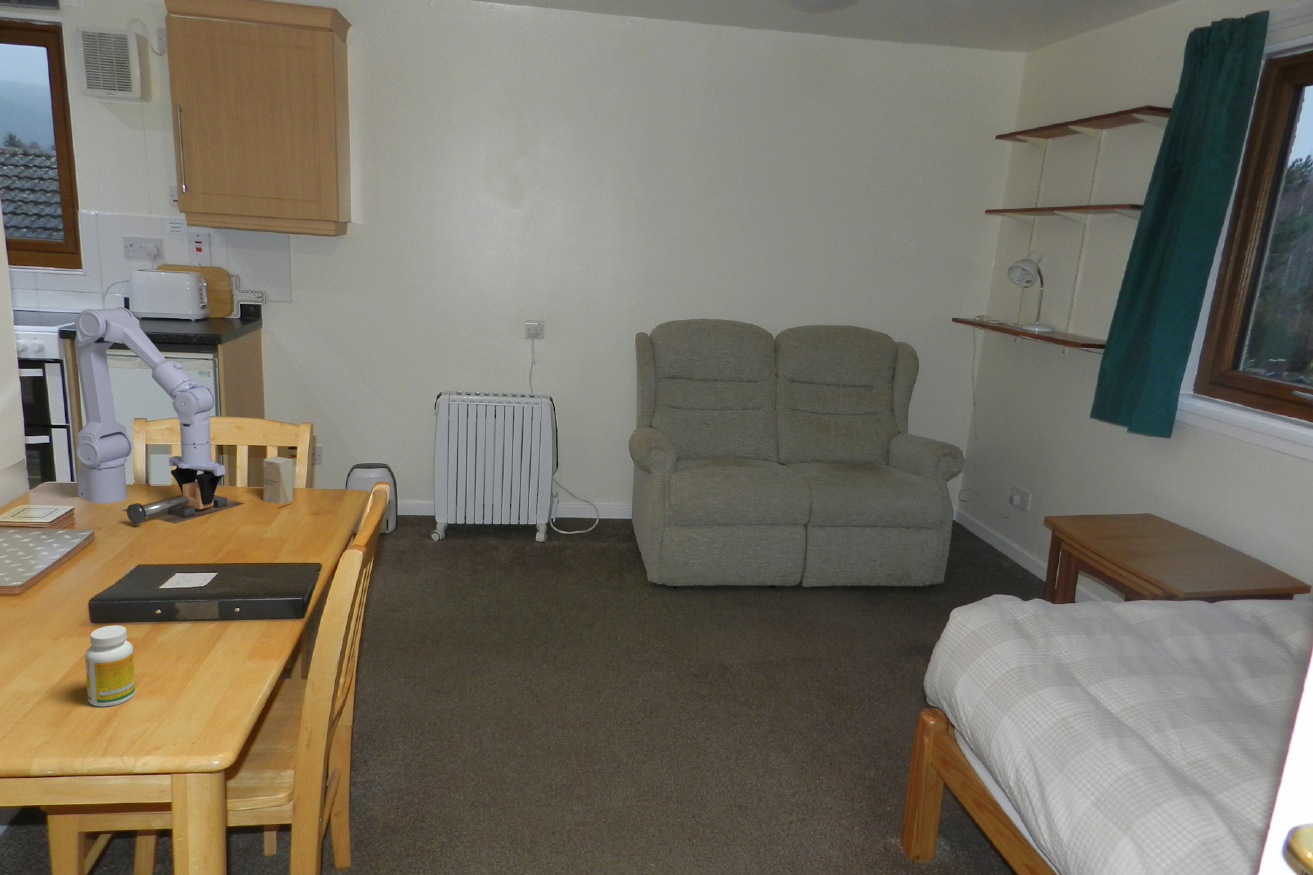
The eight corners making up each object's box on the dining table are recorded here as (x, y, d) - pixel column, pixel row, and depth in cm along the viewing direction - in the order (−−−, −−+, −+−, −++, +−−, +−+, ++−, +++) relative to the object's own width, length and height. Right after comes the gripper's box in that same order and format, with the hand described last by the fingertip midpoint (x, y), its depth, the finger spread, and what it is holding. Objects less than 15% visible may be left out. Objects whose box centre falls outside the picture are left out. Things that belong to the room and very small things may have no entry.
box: (262, 504, 196) (261, 459, 194) (275, 500, 200) (275, 455, 198) (281, 508, 195) (280, 462, 192) (294, 503, 199) (293, 458, 196)
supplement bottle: (78, 702, 111) (73, 635, 109) (114, 684, 116) (110, 619, 114) (110, 711, 109) (105, 643, 107) (145, 692, 114) (141, 627, 112)
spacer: (183, 505, 185) (182, 484, 184) (197, 501, 189) (196, 481, 188) (199, 509, 184) (199, 488, 183) (213, 505, 187) (212, 484, 186)
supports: (168, 513, 182) (167, 505, 182) (211, 502, 192) (210, 494, 192) (184, 518, 180) (184, 509, 180) (227, 505, 190) (227, 497, 190)
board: (122, 514, 182) (122, 510, 182) (194, 495, 199) (194, 491, 199) (175, 527, 177) (175, 523, 177) (245, 507, 193) (244, 503, 193)
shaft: (127, 521, 173) (126, 502, 172) (179, 507, 184) (179, 489, 183) (141, 524, 171) (140, 506, 171) (193, 510, 183) (192, 492, 182)
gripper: (155, 440, 182) (158, 500, 185) (204, 450, 177) (206, 511, 180) (183, 435, 188) (186, 492, 191) (232, 444, 183) (234, 503, 186)
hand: (198, 501), depth 186 cm, fingers closed on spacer, 5 cm apart
